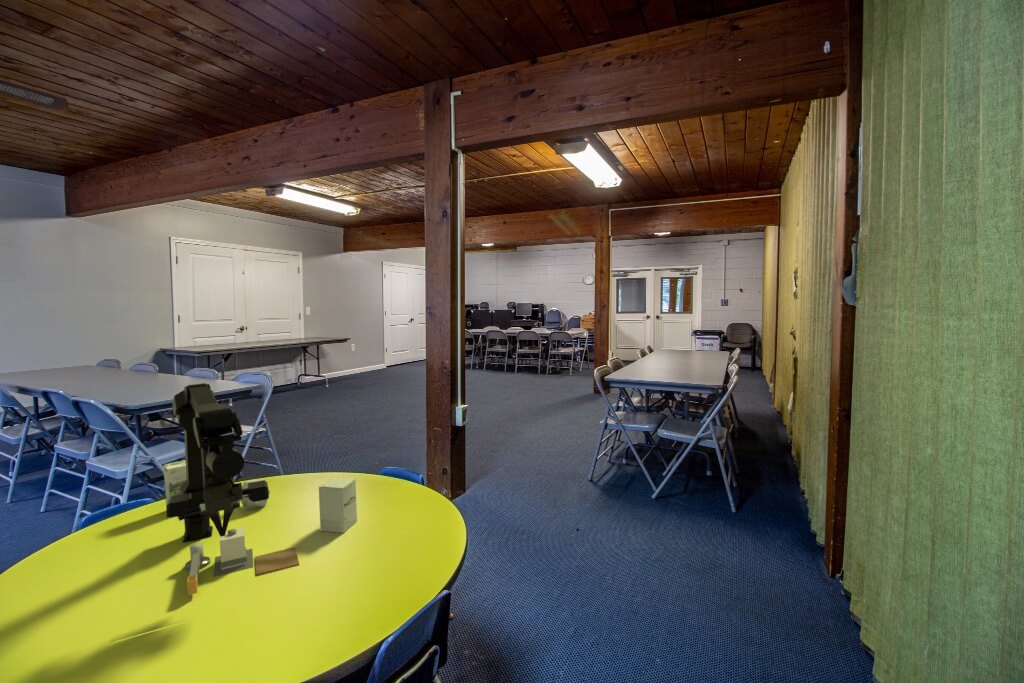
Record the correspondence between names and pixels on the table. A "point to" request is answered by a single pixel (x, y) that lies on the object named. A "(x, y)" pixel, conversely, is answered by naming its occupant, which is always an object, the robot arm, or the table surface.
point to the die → (248, 503)
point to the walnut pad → (276, 561)
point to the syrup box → (174, 478)
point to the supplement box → (337, 504)
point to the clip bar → (195, 567)
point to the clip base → (202, 564)
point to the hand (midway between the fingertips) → (222, 535)
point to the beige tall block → (233, 549)
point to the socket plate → (249, 564)
